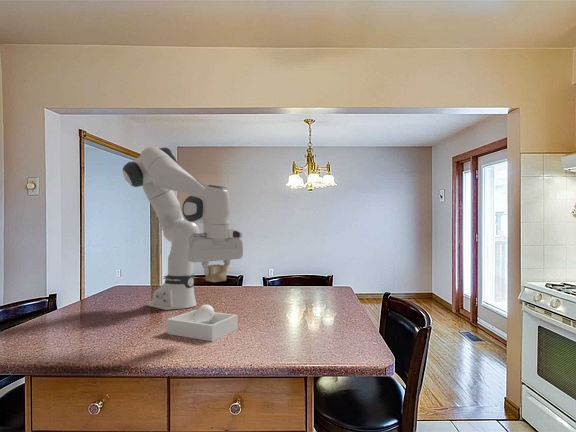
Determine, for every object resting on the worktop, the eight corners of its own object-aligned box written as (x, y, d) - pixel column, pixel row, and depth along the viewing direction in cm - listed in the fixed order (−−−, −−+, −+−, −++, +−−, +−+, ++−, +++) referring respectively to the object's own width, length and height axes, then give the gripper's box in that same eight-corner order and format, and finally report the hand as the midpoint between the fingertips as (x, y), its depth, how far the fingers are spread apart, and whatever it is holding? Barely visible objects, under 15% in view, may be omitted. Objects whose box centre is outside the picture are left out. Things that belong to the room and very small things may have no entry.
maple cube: (213, 282, 124) (213, 266, 124) (205, 280, 127) (205, 265, 127) (226, 280, 127) (226, 265, 127) (217, 278, 131) (218, 264, 131)
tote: (166, 333, 130) (166, 319, 130) (195, 322, 143) (195, 309, 143) (212, 341, 122) (212, 325, 122) (237, 329, 135) (237, 315, 135)
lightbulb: (182, 325, 134) (205, 307, 142) (193, 336, 132) (216, 318, 139) (182, 315, 130) (207, 298, 138) (194, 327, 128) (218, 309, 135)
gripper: (194, 233, 118) (193, 278, 118) (245, 232, 133) (245, 272, 132) (184, 233, 123) (183, 275, 122) (234, 232, 137) (234, 270, 137)
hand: (215, 274), depth 128 cm, fingers closed on maple cube, 5 cm apart
